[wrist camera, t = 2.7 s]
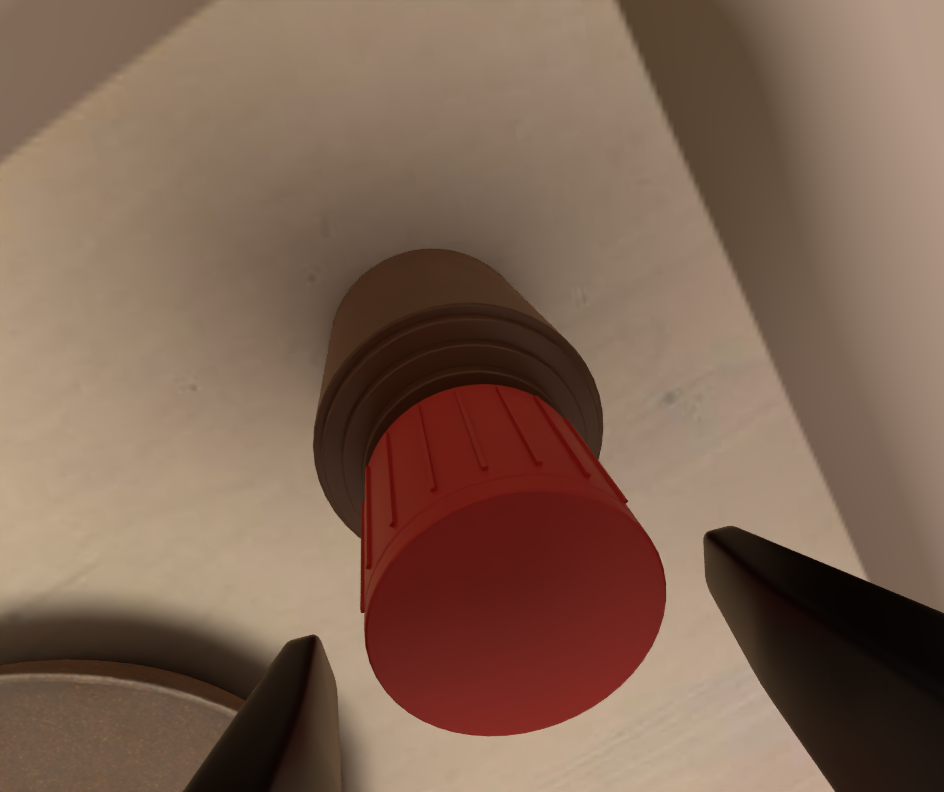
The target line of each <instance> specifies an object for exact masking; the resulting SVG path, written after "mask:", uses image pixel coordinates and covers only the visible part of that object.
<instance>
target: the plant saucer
mask: <svg viewBox="0 0 944 792" xmlns="http://www.w3.org/2000/svg"><path fill="white" fill-rule="evenodd" d="M244 703H245V700H243V699H241V698H239V697H237V696H235V695H234V694H232V693H229V692H227V691H225V690H223V689H221V688H219V687H216V686H214V685H212V684H209V683H206V682H203V681H200V680H197V679H195V678H192V677H189V676H186V675H182V674H179V673H175V672H171V671H167V670H163V669H159V668H153V667H148V666H142V665H136V664H130V663H120V662H110V661H100V660H74V659H70V660H43V661H30V662H21V663H14V664H6V665H0V792H183V790H184V789H185V787H186V786H187V784H188V783H189V782H190V780H191V779H192V777H193V776H194V774H195V773H196V772H197V770H198V769H199V767H200V766H201V764H202V763H203V762H204V760H205V759H206V757H207V756H208V754H209V753H210V752H211V750H212V749H213V747H214V746H215V744H216V743H217V742H218V740H219V739H220V737H221V736H222V734H223V733H224V731H225V730H226V729H227V727H228V726H229V724H230V723H231V721H232V720H233V719H234V717H235V716H236V714H237V713H238V711H239V710H240V709H241V707H242V706H243V704H244Z"/></svg>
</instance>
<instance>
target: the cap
mask: <svg viewBox="0 0 944 792" xmlns="http://www.w3.org/2000/svg"><path fill="white" fill-rule="evenodd" d="M627 502H628V500H627V499H626V498H625V496H624V495H623V494H622V492H621V491H620V489H619V488H618V487H617V485H616V484H615V483H614V481H613V480H612V479H611V477H610V476H609V474H608V473H607V472H606V470H605V469H604V468H603V466H602V465H601V464H600V462H599V461H598V459H597V458H596V457H595V455H594V454H593V453H592V451H591V450H590V449H589V447H588V446H587V444H586V443H585V442H584V440H583V439H582V438H581V436H580V435H579V434H578V432H577V431H576V429H575V428H574V427H573V425H572V424H571V423H570V421H569V420H568V419H567V418H566V417H565V418H564V419H563V417H562V416H561V415H560V414H559V413H558V412H557V411H556V410H555V409H554V408H552V407H551V406H550V405H548V404H547V403H546V402H544V401H543V400H541V399H540V398H539V397H538V396H536V395H535V396H534V395H532V394H530V393H527V392H525V391H522V390H519V389H516V388H512V387H507V386H502V385H491V384H477V385H466V386H461V387H455V388H452V389H448V390H445V391H442V392H439V393H437V394H434V395H432V396H430V397H428V398H425V399H424V400H422V401H420V402H419V403H417V404H415V405H414V406H412V407H411V408H410V409H408V410H407V411H406V412H404V413H403V414H402V415H401V416H400V417H399V418H398V419H397V420H396V421H395V422H394V423H393V424H392V425H391V426H390V427H389V428H388V429H387V431H386V432H385V433H384V434H383V436H382V437H381V439H380V440H379V442H378V444H377V446H376V448H375V449H374V451H373V454H372V456H371V459H370V461H369V464H368V466H366V468H365V502H361V601H360V609H361V613H365V614H364V631H365V645H366V650H367V654H368V658H369V662H370V664H371V667H372V669H373V671H374V674H375V676H376V678H377V679H378V681H379V682H380V684H381V685H382V687H383V688H384V690H385V691H386V692H387V693H388V694H389V696H390V697H391V698H392V699H393V700H394V701H395V702H396V703H397V704H398V705H400V706H401V707H402V708H403V709H405V710H406V711H407V712H408V713H410V714H412V715H413V716H415V717H417V718H418V719H420V720H422V721H424V722H426V723H428V724H431V725H433V726H435V727H438V728H441V729H445V730H448V731H452V732H456V733H462V734H468V735H477V736H507V735H515V734H522V733H527V732H532V731H536V730H540V729H544V728H547V727H550V726H553V725H556V724H559V723H562V722H564V721H566V720H568V719H571V718H573V717H575V716H577V715H579V714H581V713H583V712H585V711H586V710H588V709H590V708H592V707H593V706H595V705H596V704H598V703H599V702H601V701H602V700H604V699H605V698H607V697H608V696H609V695H610V694H612V693H613V692H614V691H615V690H616V689H618V688H619V687H620V686H621V685H622V684H623V683H624V682H625V681H626V680H627V679H628V678H629V677H630V676H631V675H632V674H633V673H634V671H635V670H636V669H637V668H638V666H639V665H640V664H641V662H642V661H643V660H644V658H645V657H646V655H647V653H648V652H649V650H650V649H651V647H652V645H653V643H654V641H655V639H656V636H657V634H658V632H659V629H660V626H661V623H662V619H663V616H664V610H665V603H666V581H665V575H664V569H663V565H662V562H661V559H660V556H659V553H658V551H657V550H656V548H655V546H654V544H653V542H652V540H651V539H650V537H649V536H648V535H647V533H646V532H645V530H644V529H643V527H642V526H641V525H640V523H639V522H638V520H637V519H636V518H635V516H634V515H633V514H632V512H631V511H630V509H629V508H628V507H627V505H626V503H627Z"/></svg>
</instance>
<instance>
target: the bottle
mask: <svg viewBox="0 0 944 792" xmlns="http://www.w3.org/2000/svg"><path fill="white" fill-rule="evenodd" d="M477 384H491V385H502V386H507V387H512V388H516V389H519V390H522V391H525V392H527V393H530V394H532V395H534V396H535V395H536V396H538V397H539V398H540V399H541V400H543V401H544V402H546V403H547V404H548V405H550V406H551V407H552V408H554V409H555V410H556V411H557V412H558V413H559V414H560V415H561V416H562V417H563V419H564V418H565V417H566V418H567V419H568V420H569V421H570V423H571V424H572V425H573V427H574V428H575V429H576V431H577V432H578V434H579V435H580V436H581V438H582V439H583V440H584V442H585V443H586V444H587V446H588V447H589V449H590V450H591V451H592V453H593V454H594V455H595V457H596V458H597V459H599V455H600V450H601V446H602V436H603V413H602V407H601V401H600V396H599V393H598V390H597V387H596V384H595V381H594V378H593V377H592V375H591V373H590V371H589V369H588V367H587V365H586V363H585V362H584V360H583V359H582V358H581V356H580V355H579V354H578V352H577V351H576V349H575V348H574V347H573V346H572V345H571V344H570V343H569V342H568V341H567V340H566V339H565V338H564V337H563V336H562V335H561V334H560V333H559V332H558V331H557V330H556V329H555V328H554V327H553V326H552V325H551V324H550V323H549V322H548V321H547V320H546V319H544V318H543V317H542V316H541V315H540V314H539V313H538V312H537V311H536V310H535V309H534V308H533V307H532V306H531V305H530V304H529V303H528V302H527V301H526V300H525V299H524V298H523V297H522V296H521V295H520V294H519V293H518V292H517V291H516V290H515V289H514V288H513V287H512V286H511V285H510V284H509V283H508V282H507V281H506V280H505V279H504V278H503V277H502V276H501V275H500V274H499V273H497V272H496V271H495V270H493V269H492V268H491V267H489V266H488V265H486V264H485V263H483V262H481V261H479V260H478V259H476V258H473V257H471V256H468V255H466V254H463V253H459V252H455V251H451V250H442V249H422V250H415V251H409V252H406V253H402V254H399V255H396V256H393V257H391V258H389V259H387V260H384V261H382V262H381V263H379V264H378V265H376V266H374V267H373V268H371V269H370V270H369V271H368V272H366V273H365V274H364V275H363V276H361V277H360V278H359V279H358V281H357V282H356V283H355V284H354V285H353V286H352V287H351V288H350V290H349V291H348V293H347V294H346V296H345V297H344V298H343V300H342V302H341V304H340V306H339V308H338V310H337V313H336V316H335V319H334V321H333V326H332V331H331V336H330V341H329V347H328V353H327V358H326V364H325V369H324V375H323V381H322V386H321V392H320V398H319V403H318V409H317V415H316V420H315V426H314V439H313V450H314V461H315V467H316V471H317V475H318V479H319V482H320V484H321V487H322V489H323V491H324V494H325V496H326V498H327V500H328V501H329V503H330V505H331V506H332V508H333V510H334V511H335V513H336V514H337V515H338V516H339V518H340V519H341V520H342V521H343V522H344V524H345V525H346V526H347V527H348V528H349V529H350V530H352V531H353V532H354V533H355V534H356V535H357V536H358V537H359V538H361V502H365V468H366V466H368V464H369V461H370V459H371V456H372V454H373V451H374V449H375V448H376V446H377V444H378V442H379V440H380V439H381V437H382V436H383V434H384V433H385V432H386V431H387V429H388V428H389V427H390V426H391V425H392V424H393V423H394V422H395V421H396V420H397V419H398V418H399V417H400V416H401V415H402V414H403V413H404V412H406V411H407V410H408V409H410V408H411V407H412V406H414V405H415V404H417V403H419V402H420V401H422V400H424V399H425V398H428V397H430V396H432V395H434V394H437V393H439V392H442V391H445V390H448V389H452V388H455V387H461V386H466V385H477Z"/></svg>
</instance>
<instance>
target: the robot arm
mask: <svg viewBox="0 0 944 792" xmlns="http://www.w3.org/2000/svg"><path fill="white" fill-rule="evenodd" d="M703 544H704V563H705V578H706V582H707V586H708V588H709V591H710V593H711V595H712V597H713V598H714V600H715V602H716V604H717V606H718V607H719V609H720V611H721V613H722V615H723V617H724V618H725V620H726V622H727V624H728V626H729V627H730V629H731V631H732V633H733V635H734V637H735V638H736V640H737V642H738V644H739V646H740V647H741V649H742V651H743V653H744V655H745V657H746V658H747V660H748V662H749V664H750V666H751V667H752V669H753V671H754V673H755V674H756V676H757V678H758V680H759V681H760V683H761V685H762V686H763V688H764V689H765V691H766V692H767V694H768V695H769V697H770V699H771V700H772V702H773V703H774V704H775V706H776V707H777V709H778V710H779V712H780V713H781V714H782V716H783V717H784V719H785V720H786V722H787V723H788V725H789V726H790V727H791V729H792V730H793V732H794V733H795V735H796V736H797V738H798V739H799V740H800V742H801V743H802V745H803V746H804V748H805V749H806V750H807V752H808V753H809V755H810V756H811V758H812V759H813V761H814V762H815V763H816V765H817V766H818V768H819V769H820V771H821V772H822V774H823V775H824V776H825V778H826V779H827V781H828V782H829V784H830V785H831V787H832V788H833V789H834V791H835V792H944V613H942V612H940V611H937V610H935V609H933V608H930V607H928V606H925V605H923V604H920V603H918V602H916V601H913V600H911V599H908V598H906V597H904V596H901V595H899V594H896V593H894V592H892V591H889V590H887V589H884V588H882V587H879V586H877V585H875V584H872V583H870V582H867V581H865V580H863V579H860V578H858V577H855V576H853V575H851V574H848V573H846V572H843V571H841V570H839V569H836V568H834V567H831V566H829V565H827V564H824V563H822V562H819V561H817V560H814V559H812V558H810V557H807V556H805V555H802V554H800V553H798V552H795V551H793V550H790V549H788V548H786V547H783V546H781V545H778V544H776V543H773V542H771V541H769V540H766V539H764V538H761V537H759V536H757V535H754V534H752V533H749V532H747V531H745V530H742V529H740V528H737V527H734V526H726V527H722V528H718V529H715V530H711V531H708V532H707V533H706V534H705V535H704V540H703ZM183 792H342V778H341V758H340V738H339V718H338V698H337V687H336V681H335V677H334V674H333V671H332V669H331V666H330V663H329V661H328V658H327V656H326V653H325V650H324V648H323V645H322V642H321V640H320V639H319V637H318V636H316V635H309V636H305V637H301V638H297V639H293V640H291V641H289V642H287V643H286V644H285V646H284V647H283V648H282V650H281V651H280V653H279V654H278V656H277V657H276V658H275V660H274V661H273V663H272V664H271V666H270V667H269V668H268V670H267V671H266V673H265V674H264V676H263V677H262V678H261V680H260V681H259V683H258V684H257V686H256V687H255V689H254V690H253V691H252V693H251V694H250V696H249V697H248V699H247V700H246V701H245V703H244V704H243V706H242V707H241V709H240V710H239V711H238V713H237V714H236V716H235V717H234V719H233V720H232V721H231V723H230V724H229V726H228V727H227V729H226V730H225V731H224V733H223V734H222V736H221V737H220V739H219V740H218V742H217V743H216V744H215V746H214V747H213V749H212V750H211V752H210V753H209V754H208V756H207V757H206V759H205V760H204V762H203V763H202V764H201V766H200V767H199V769H198V770H197V772H196V773H195V774H194V776H193V777H192V779H191V780H190V782H189V783H188V784H187V786H186V787H185V789H184V790H183Z"/></svg>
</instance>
